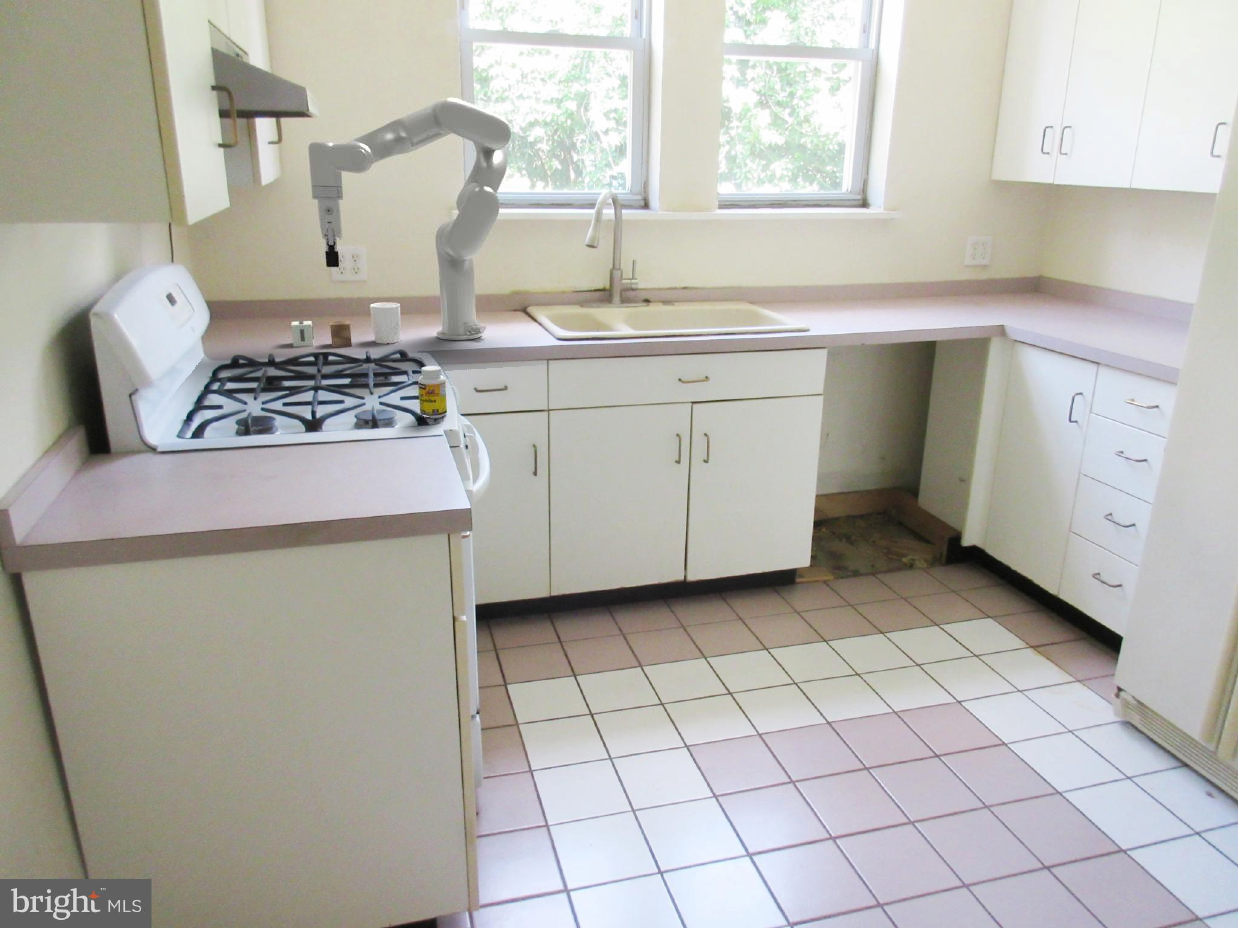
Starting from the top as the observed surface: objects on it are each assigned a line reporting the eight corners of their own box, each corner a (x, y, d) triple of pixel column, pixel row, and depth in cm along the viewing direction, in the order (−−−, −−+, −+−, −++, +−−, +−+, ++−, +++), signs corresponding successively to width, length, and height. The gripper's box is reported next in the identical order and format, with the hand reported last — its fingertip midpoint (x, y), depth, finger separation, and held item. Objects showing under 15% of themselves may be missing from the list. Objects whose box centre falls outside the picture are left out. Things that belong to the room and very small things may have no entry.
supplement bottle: (415, 417, 179) (411, 369, 176) (429, 410, 184) (426, 363, 180) (438, 420, 177) (435, 372, 174) (452, 413, 182) (449, 366, 178)
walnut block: (351, 342, 245) (349, 320, 243) (351, 346, 240) (349, 324, 238) (332, 343, 244) (330, 321, 242) (332, 347, 239) (330, 325, 237)
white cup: (367, 341, 247) (364, 304, 243) (391, 337, 252) (389, 301, 249) (383, 345, 242) (380, 308, 238) (408, 341, 247) (405, 305, 244)
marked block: (314, 342, 245) (312, 320, 243) (314, 346, 240) (311, 323, 238) (294, 343, 244) (291, 320, 242) (293, 347, 239) (291, 324, 237)
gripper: (343, 195, 223) (348, 270, 229) (342, 192, 237) (347, 263, 243) (311, 194, 221) (317, 270, 227) (312, 191, 235) (317, 263, 241)
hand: (332, 266), depth 235 cm, fingers closed
